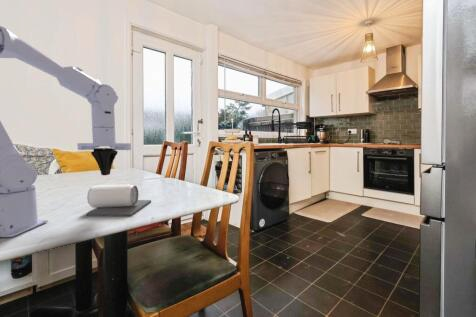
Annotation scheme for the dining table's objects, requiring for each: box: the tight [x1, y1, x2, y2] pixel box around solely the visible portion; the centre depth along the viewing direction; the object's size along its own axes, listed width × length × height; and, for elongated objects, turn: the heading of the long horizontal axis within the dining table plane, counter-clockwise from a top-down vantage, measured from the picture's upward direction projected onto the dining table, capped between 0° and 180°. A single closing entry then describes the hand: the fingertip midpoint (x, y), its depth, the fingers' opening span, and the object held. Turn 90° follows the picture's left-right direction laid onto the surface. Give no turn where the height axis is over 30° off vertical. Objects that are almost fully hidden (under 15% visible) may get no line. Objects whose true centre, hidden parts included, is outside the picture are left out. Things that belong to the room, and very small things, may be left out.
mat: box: [86, 199, 152, 217], centre depth 70 cm, size 14×12×1 cm
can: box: [86, 183, 139, 209], centre depth 69 cm, size 6×6×12 cm
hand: (105, 174), depth 69 cm, fingers closed
